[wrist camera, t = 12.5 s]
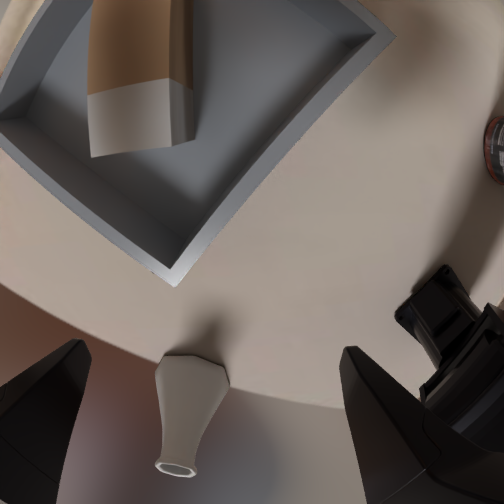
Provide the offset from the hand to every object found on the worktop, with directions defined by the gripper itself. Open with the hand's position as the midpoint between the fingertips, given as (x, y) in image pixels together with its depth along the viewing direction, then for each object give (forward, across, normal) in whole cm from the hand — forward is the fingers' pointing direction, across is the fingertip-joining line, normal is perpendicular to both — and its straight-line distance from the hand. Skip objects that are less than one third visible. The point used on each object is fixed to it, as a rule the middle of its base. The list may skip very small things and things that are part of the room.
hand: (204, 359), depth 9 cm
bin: (+11, +4, -11) cm, 16 cm away
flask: (+11, +4, +15) cm, 19 cm away
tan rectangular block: (+10, +4, -11) cm, 16 cm away
